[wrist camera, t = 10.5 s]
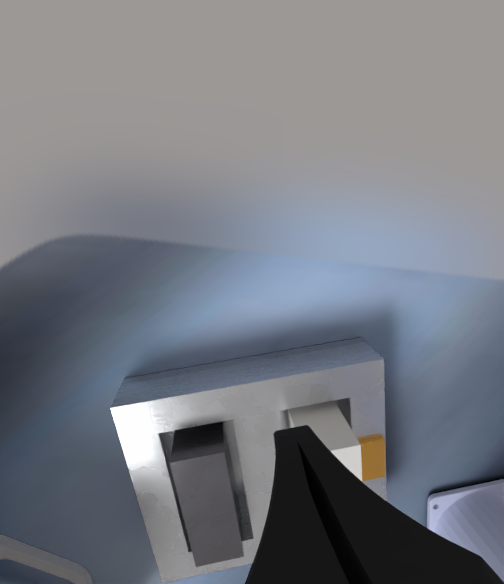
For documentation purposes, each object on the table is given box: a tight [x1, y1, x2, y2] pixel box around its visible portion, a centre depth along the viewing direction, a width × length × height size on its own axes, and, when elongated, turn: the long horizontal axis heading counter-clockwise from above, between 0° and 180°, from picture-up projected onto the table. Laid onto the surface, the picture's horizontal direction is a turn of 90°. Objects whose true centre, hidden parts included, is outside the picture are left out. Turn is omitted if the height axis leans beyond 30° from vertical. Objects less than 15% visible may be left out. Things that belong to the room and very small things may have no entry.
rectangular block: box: [285, 401, 362, 481], centre depth 21 cm, size 8×3×6 cm, turn 8°
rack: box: [110, 337, 387, 583], centre depth 22 cm, size 14×16×5 cm
